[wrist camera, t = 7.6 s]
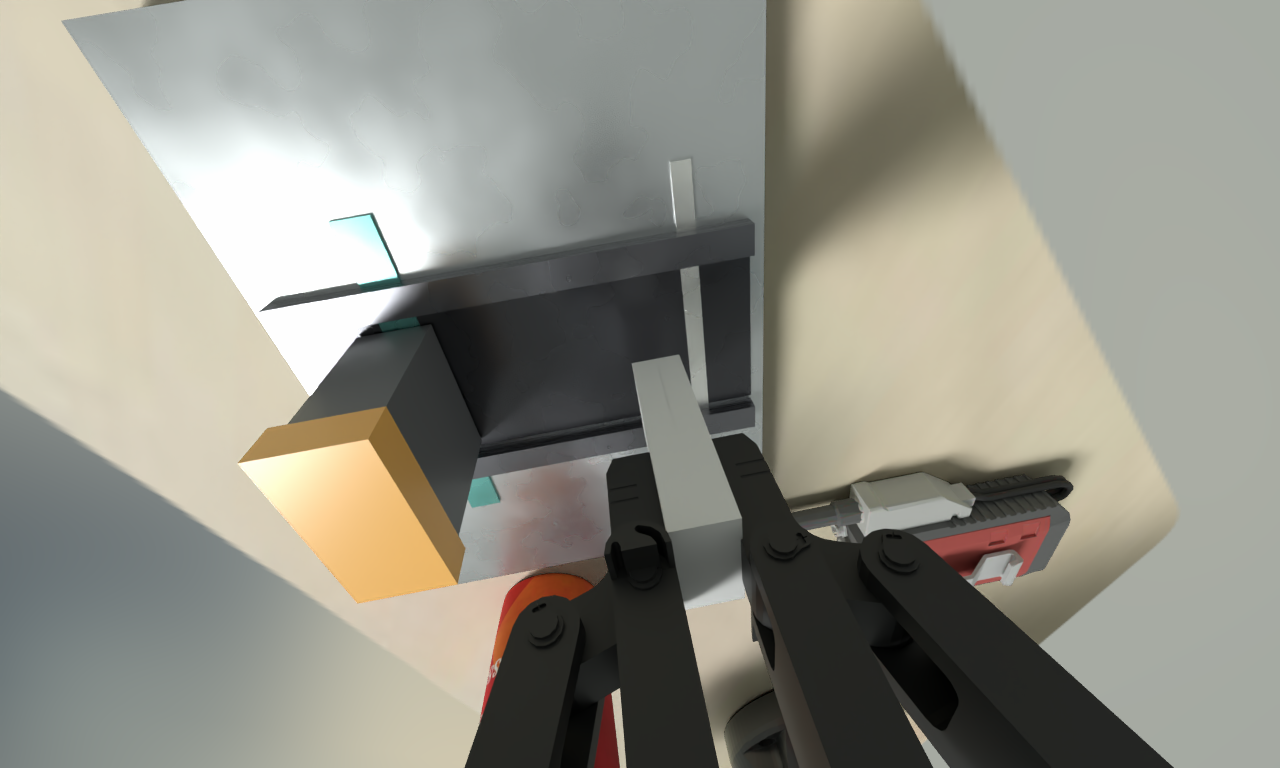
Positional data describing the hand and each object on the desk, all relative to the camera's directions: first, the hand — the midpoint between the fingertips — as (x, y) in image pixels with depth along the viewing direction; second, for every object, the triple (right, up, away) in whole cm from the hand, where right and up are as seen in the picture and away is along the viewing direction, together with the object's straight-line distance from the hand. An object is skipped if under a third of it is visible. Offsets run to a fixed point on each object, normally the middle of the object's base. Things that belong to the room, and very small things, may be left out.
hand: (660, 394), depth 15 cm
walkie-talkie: (+13, -8, +13) cm, 20 cm away
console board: (-4, +2, +3) cm, 6 cm away
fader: (-8, 0, +1) cm, 8 cm away
